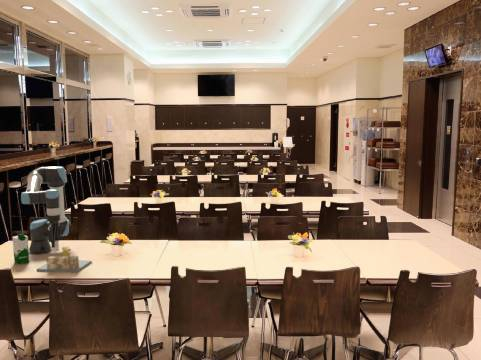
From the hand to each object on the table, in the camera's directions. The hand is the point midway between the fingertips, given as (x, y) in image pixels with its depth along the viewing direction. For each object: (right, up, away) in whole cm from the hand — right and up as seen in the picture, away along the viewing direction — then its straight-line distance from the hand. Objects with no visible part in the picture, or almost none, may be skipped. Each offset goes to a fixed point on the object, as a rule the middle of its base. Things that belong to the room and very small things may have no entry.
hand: (55, 251), depth 284 cm
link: (+1, -12, +9) cm, 15 cm away
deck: (0, -13, +16) cm, 20 cm away
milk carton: (-34, -12, +26) cm, 44 cm away
